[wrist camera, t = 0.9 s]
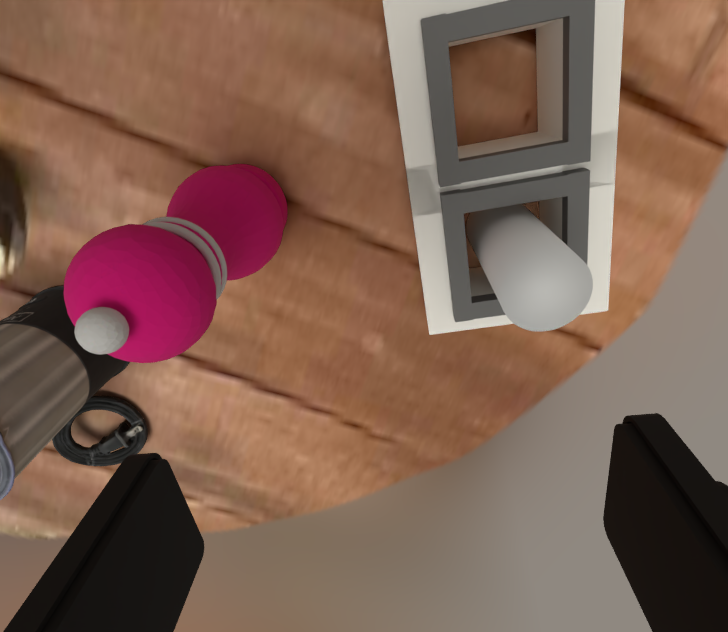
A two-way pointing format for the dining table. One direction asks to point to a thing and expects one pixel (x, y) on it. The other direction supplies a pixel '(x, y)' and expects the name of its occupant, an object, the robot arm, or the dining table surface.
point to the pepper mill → (174, 265)
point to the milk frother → (55, 390)
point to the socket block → (511, 163)
